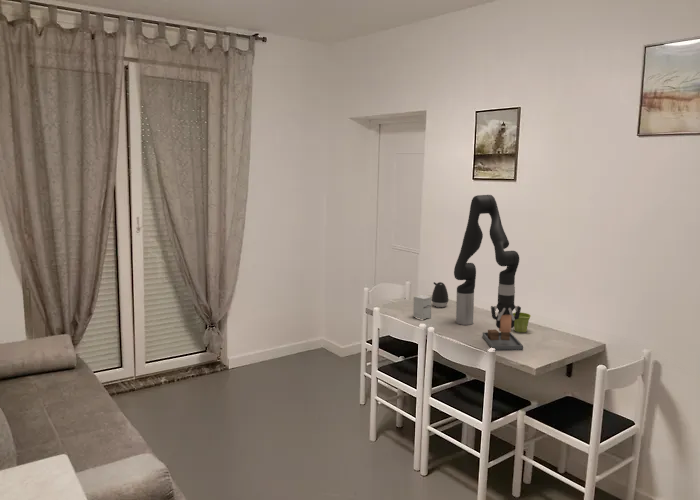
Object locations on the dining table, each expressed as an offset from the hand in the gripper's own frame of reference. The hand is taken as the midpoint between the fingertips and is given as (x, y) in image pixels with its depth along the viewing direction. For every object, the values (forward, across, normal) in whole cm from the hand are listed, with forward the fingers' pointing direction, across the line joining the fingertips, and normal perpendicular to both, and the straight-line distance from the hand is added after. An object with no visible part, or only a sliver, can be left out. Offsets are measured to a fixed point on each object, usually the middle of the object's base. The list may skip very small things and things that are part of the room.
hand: (505, 327), depth 250 cm
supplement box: (+9, +33, -47) cm, 58 cm away
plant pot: (+9, -15, -23) cm, 29 cm away
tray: (+9, 0, -4) cm, 10 cm away
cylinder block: (+1, 0, 0) cm, 1 cm away
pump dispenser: (+9, +19, -72) cm, 75 cm away
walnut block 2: (+8, -3, -9) cm, 13 cm away
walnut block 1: (+8, +3, -9) cm, 13 cm away
